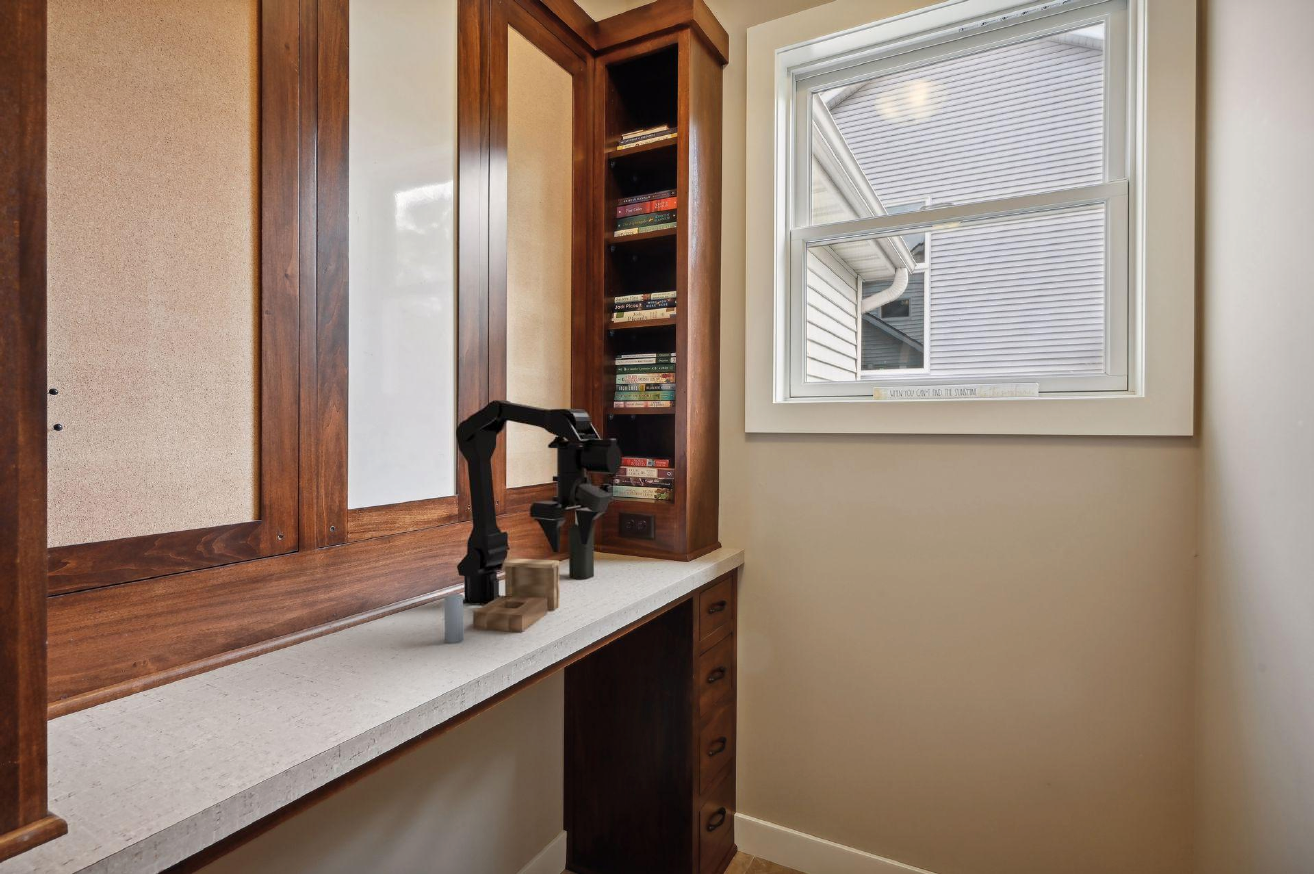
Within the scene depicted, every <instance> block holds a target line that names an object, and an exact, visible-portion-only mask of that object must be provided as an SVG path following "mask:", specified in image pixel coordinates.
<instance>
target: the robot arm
mask: <svg viewBox="0 0 1314 874" xmlns="http://www.w3.org/2000/svg"><path fill="white" fill-rule="evenodd" d="M508 422H514V423H519V424H523V425H529V426H532V427H533V426H534V427H537V428H538V427H539V428H542V429H543V430H545V431H546V432H548V433H550V434H552V435H554V436H555V437H554V439H553V440H552V441H550V442H549V444H548V445H547V448H549V449H556V463H557V464H556V466H557V467H556V475H554V476H552V482H555V483H556V496H555V495H553V496H552V500H542V501H535V502H533V503H531V505H530V506H529V517H530V518H533V519H534V521H536V522H537V523H538V525H539V526H540V528H541V530H542V531H543V533H544V535H545V537H546V539H547V541H548V543H549V545H550V547H551V549H552V552H553V553H559V552H560V546H561V535H562V534H561V533H562V532H561V531H562V526H563V525H564V523H565V522H566V521H567V518H564V517H565V516H566V514H567V512H570V511H574V512H575V511H576V516H577V521H578V527H579V532H580V537H581V541H582V544H583V545H587V544H588V541H589V538H590V535H591V532H592V529H593V526H595V523H596V520H597V519H598V518H599V517H600V516H601V515H602V514H604V513H605V512H606V510H608V509H610V502H613V501H614V488H613V485H611V484H609V483H603V484H602V485H600V486H599V485H596V486H595V485H593V484H592V478H591V476H590V475H587V473H586V472H588V473H595V474H596V473H597V474H612V475H613V474H617V473H618V472H619V471H620V469H621V467H622V464H623V463H622V462H623V455H622V452H621V449H620V447H619V445H617V439H616V438H605V439H603V438H602V439H601V437H600V436H599V433H598V432H597V430H596V429H595V427H594V426H593V424H592V422H591V418H590V416H589V414H588V412H587V411H586V410H584V409H580V408H577V409H576V408H551V409H548V408H543V407H538V406H534V405H533V406H532V405H526V404H522V403H516V402H511V401H510V400H503V399H502V400H500V399H499V400H498V399H497V400H495V399H494V400H492V401H490V402H489V403H488V404H486V405H485V406H484V407H483V408H481V409H479V410H478V411H476V412H475V413H473V414H471V415H470V416H468V417H467V418H466V419H465V420H462V421H461V422H460V423H459V424H458V426H456V429H455V436H456V440H457V441H456V442H457V445H458V449H459V452H460V453H461V454H462V456H463V458H464V460H466V463H467V471H468V472H467V473H468V485H469V493H470V495H469V496H470V505H471V516H472V517H471V518H472V530H471V531H470V534H469V536H468V539H467V545H466V546H467V547H466V548H467V549H466V555H465V556H464V557H463V558H462V559H461V561H460V562H459V563H458V564H457V565H456V568H457V573H458V576H461V577H463V578H464V593H463V594H464V595H463V596H464V598H463V604H466V605H467V604H469V605H470V604H471V605H483V606H484V605H486V604H488V603H490V602H491V601H493V600H495V599H497V598H498V597H500V596H502V595H500V580H499V578H498V572H497V571H501V570H502V569H503V567H504V566H503V562H504V561H506V560H507V558H508V553H509V550H511V548H510V547H509V542H508V539H509V536H508V535H509V534H508V532H507V531H502V530H501V529H500V528H499V526H498V523H497V514H496V505H495V494H494V482H493V472H492V457H493V454H494V452H495V450H496V448H497V436H498V435H499V434H500V433H501V432H502V431H504V429H505V427H506V425H507V423H508ZM581 444H582V445H581ZM576 509H578V510H576Z"/></svg>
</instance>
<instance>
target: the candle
mask: <svg viewBox="0 0 1314 874" xmlns="http://www.w3.org/2000/svg"><path fill="white" fill-rule="evenodd" d="M576 510H578V509H576ZM574 512H575V516H574V517H575V519H574V520H575V522H573V523H572V524H571V526H568V543H569V544H568V563H569V564H568V568H569V569H568V570H569V571H568V577H569V579H577V580H580V581H582V580H588V579H590V578H591V579H592V578H594V576H595V569H594V568H595V561H594V559H595V551H594V550H595V549H594V547H595V546H594V544H595V543H594V540H595V539H594V535H595V534H594V533H595V531H594V526H595V525H594V526H593V529H592V532H591V535H590V538H589V541H588V544H587V545H583V544H582V541H581V537H580V532H579V527H578V521H577V516H576V511H575V510H574Z"/></svg>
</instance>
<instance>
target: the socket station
mask: <svg viewBox="0 0 1314 874" xmlns="http://www.w3.org/2000/svg"><path fill="white" fill-rule="evenodd" d="M502 567H504V594H505V595H501V596H500V597H498V598H497V599H495V600H493V601H491V602H490V603H488V604H486V605H483V606H481V607H479V608H477V609H476V610H474V611H473V612H472V614H473V616H472V618H473V619H472V621H473V626H472V627H473V629H477V630H489V631H503V632H513V633H514V632H516V633H524V631H526V630H527V629H529V628H530V627H532V626H533V625H534V624H536V623H537V622H538V621H539V620H541V619H542V618H544V617H545V616H546V615H548V611H555V610H557V609H558V608H560V560H553V559H552V560H551V559H535V558H534V559H532V558H531V559H530V558H512V557H511V558H509V559H506V560H504V562H503V566H502Z"/></svg>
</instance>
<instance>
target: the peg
mask: <svg viewBox="0 0 1314 874" xmlns="http://www.w3.org/2000/svg"><path fill="white" fill-rule="evenodd" d="M443 598H444V599H443V603H444V608H443V609H444V642H445V644H450V645H451V644H458V643H461V642H463V641H464V603H463V599H464V595H463V594H459V593H454V594H453V593H452V594H448V595H445V596H444V597H443Z"/></svg>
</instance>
